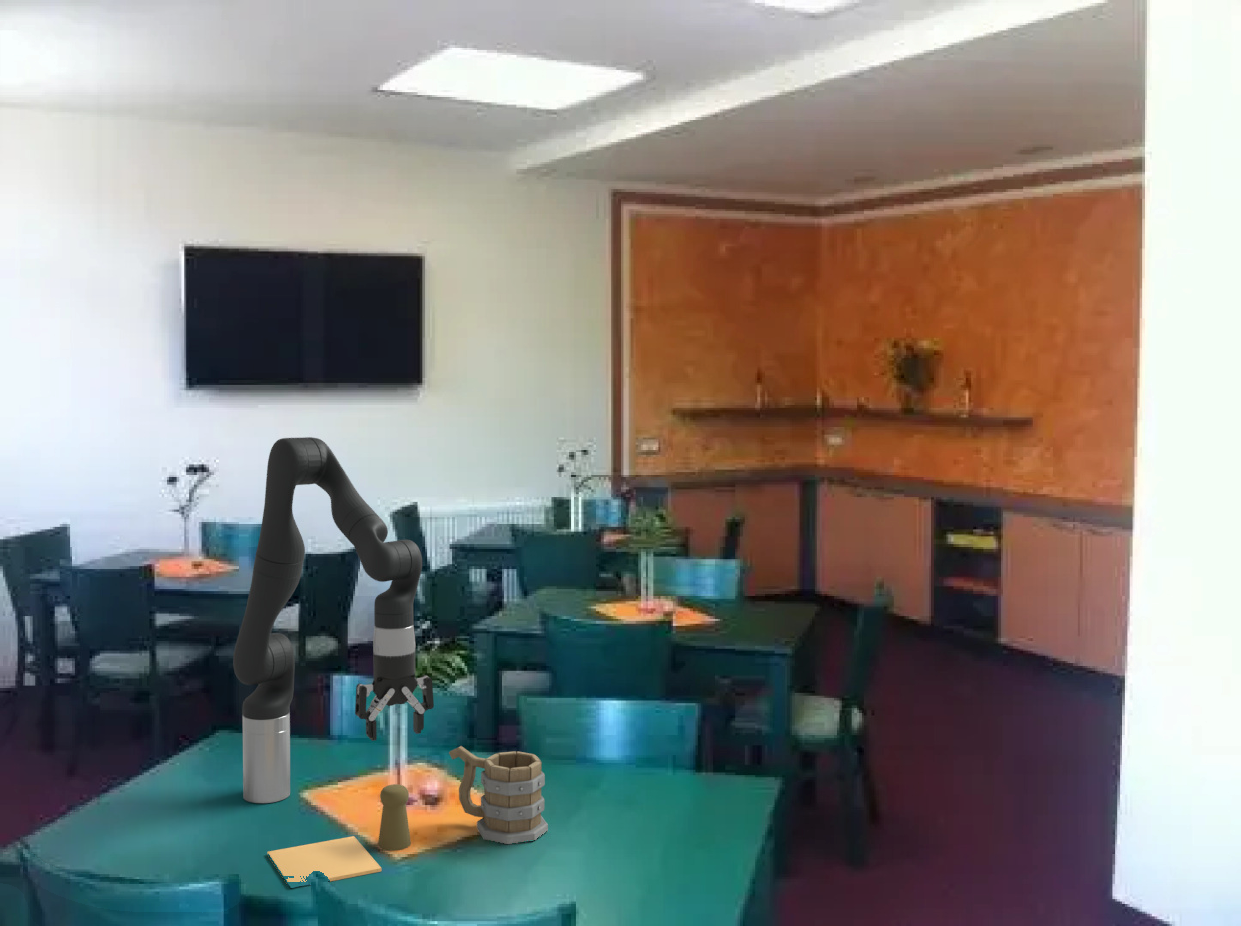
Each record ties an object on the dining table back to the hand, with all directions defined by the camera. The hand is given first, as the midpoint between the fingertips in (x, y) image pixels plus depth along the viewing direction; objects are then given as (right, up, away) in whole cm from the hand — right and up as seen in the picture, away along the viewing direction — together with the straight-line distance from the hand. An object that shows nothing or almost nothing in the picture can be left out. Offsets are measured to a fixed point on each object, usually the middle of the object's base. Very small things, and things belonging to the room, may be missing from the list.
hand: (395, 736), depth 230 cm
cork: (0, -21, +2) cm, 21 cm away
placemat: (-11, -21, -7) cm, 25 cm away
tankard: (+17, -20, +11) cm, 29 cm away
